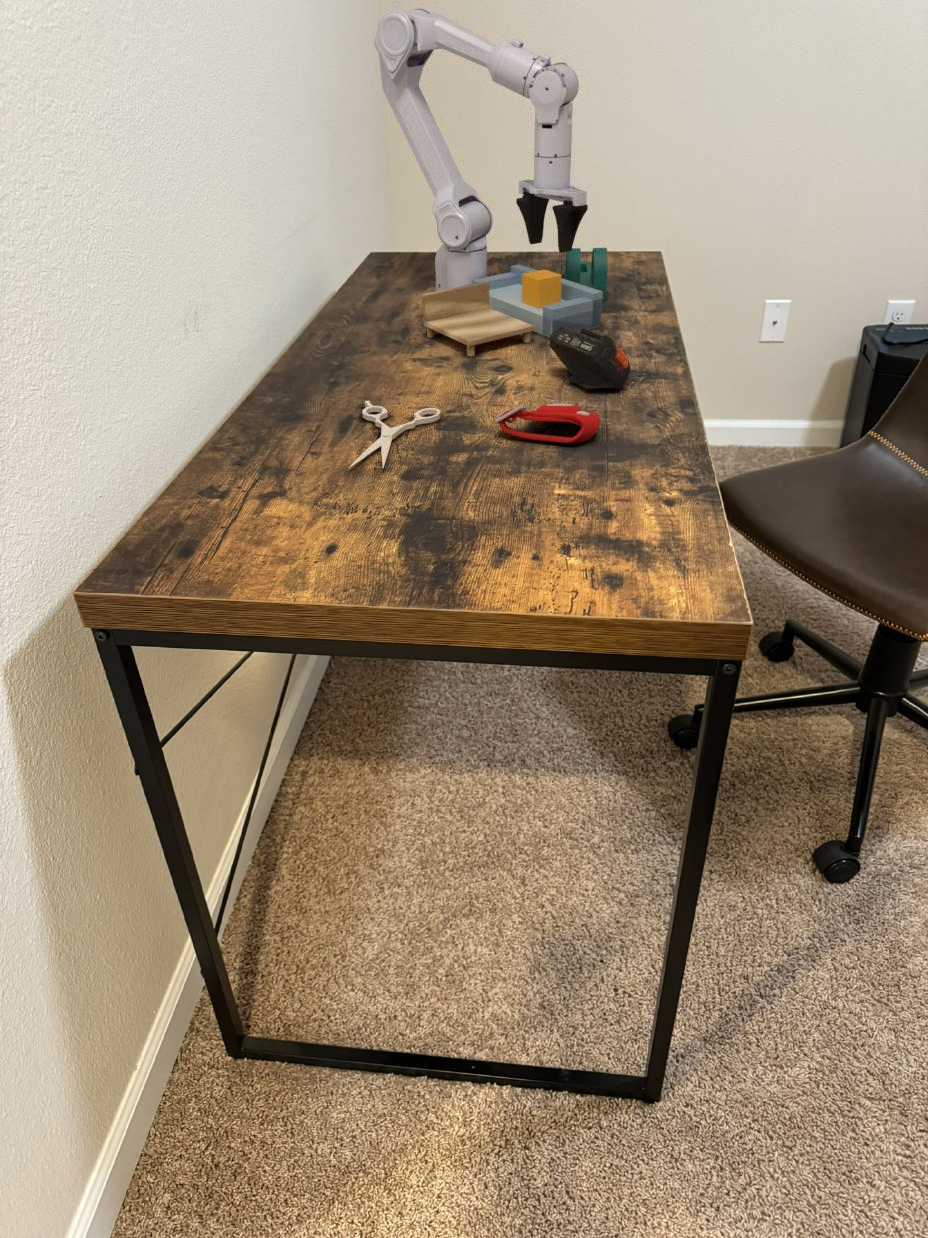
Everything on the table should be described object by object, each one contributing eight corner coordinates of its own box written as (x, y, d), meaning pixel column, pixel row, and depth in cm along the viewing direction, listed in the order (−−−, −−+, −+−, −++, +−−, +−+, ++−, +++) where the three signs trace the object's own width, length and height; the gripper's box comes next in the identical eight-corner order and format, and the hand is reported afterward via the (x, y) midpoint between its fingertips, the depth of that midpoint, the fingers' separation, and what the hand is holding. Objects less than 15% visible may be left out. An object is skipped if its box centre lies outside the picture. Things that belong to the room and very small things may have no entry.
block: (521, 302, 148) (522, 273, 145) (543, 297, 150) (544, 268, 147) (538, 308, 145) (539, 279, 142) (561, 303, 147) (562, 274, 144)
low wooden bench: (423, 336, 145) (421, 293, 141) (486, 321, 150) (485, 280, 146) (469, 357, 136) (468, 313, 132) (534, 341, 141) (534, 298, 137)
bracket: (605, 300, 158) (608, 252, 154) (566, 300, 158) (568, 253, 154) (598, 273, 173) (600, 229, 168) (562, 273, 173) (564, 229, 169)
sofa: (472, 306, 157) (471, 273, 154) (519, 296, 162) (519, 264, 158) (551, 338, 142) (552, 302, 139) (600, 326, 146) (602, 291, 143)
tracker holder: (559, 401, 117) (617, 404, 110) (558, 436, 119) (615, 441, 111) (486, 403, 110) (543, 406, 103) (486, 440, 111) (541, 446, 104)
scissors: (444, 403, 119) (410, 468, 103) (444, 409, 119) (411, 475, 103) (365, 400, 120) (320, 464, 104) (366, 406, 121) (320, 470, 105)
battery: (611, 409, 122) (644, 369, 122) (580, 367, 117) (615, 325, 117) (559, 391, 131) (590, 354, 131) (529, 351, 126) (561, 313, 126)
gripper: (503, 152, 145) (503, 243, 153) (563, 163, 135) (559, 259, 143) (538, 147, 148) (536, 236, 156) (598, 157, 138) (593, 252, 146)
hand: (550, 247), depth 149 cm, fingers open, 7 cm apart
